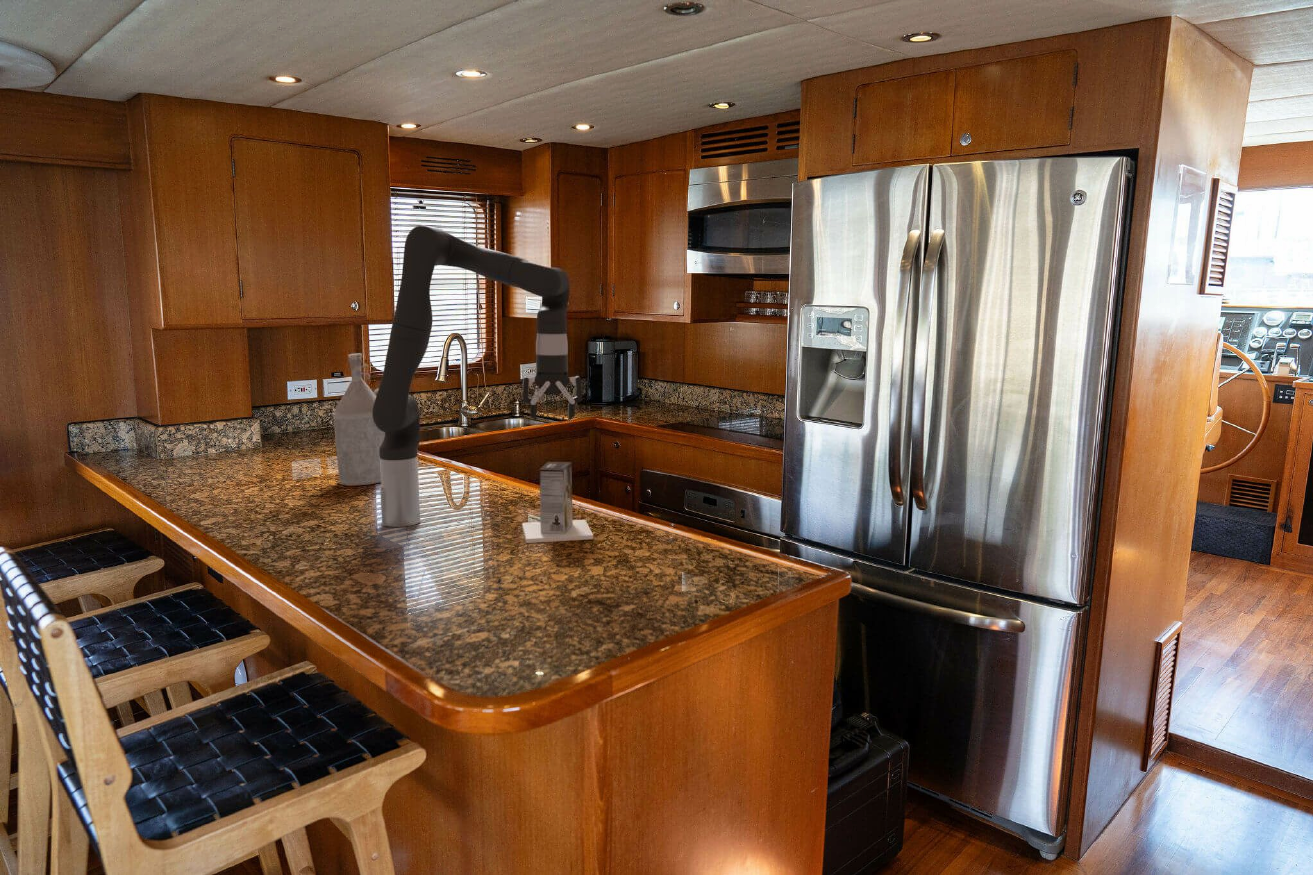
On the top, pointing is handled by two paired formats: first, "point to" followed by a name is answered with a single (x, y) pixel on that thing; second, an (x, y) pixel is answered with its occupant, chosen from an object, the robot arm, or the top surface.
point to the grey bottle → (357, 431)
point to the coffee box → (556, 497)
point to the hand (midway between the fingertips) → (552, 419)
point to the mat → (575, 532)
